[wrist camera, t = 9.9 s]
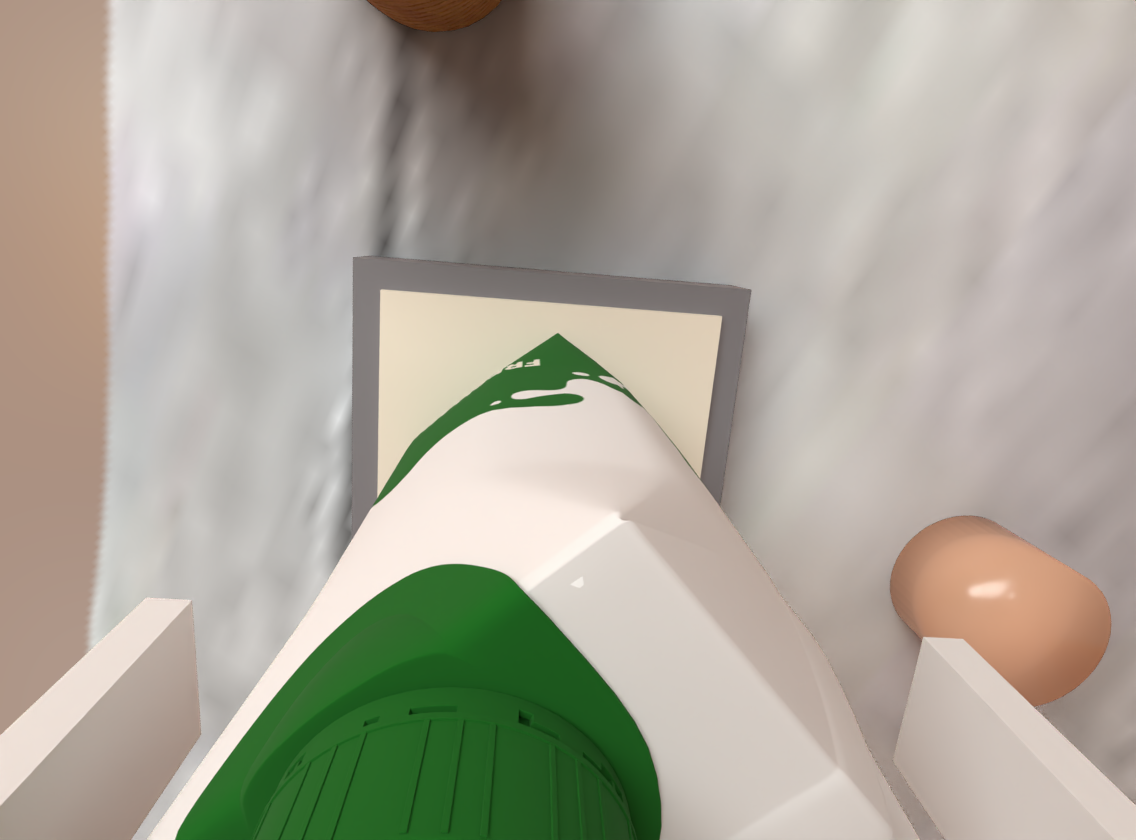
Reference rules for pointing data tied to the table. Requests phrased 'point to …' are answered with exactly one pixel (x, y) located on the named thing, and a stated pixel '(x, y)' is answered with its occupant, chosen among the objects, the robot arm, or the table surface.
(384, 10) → the disposable coffee cup
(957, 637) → the peach capsule
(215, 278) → the table surface
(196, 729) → the robot arm
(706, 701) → the soya milk
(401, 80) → the table surface
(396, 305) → the grey framed square panel
